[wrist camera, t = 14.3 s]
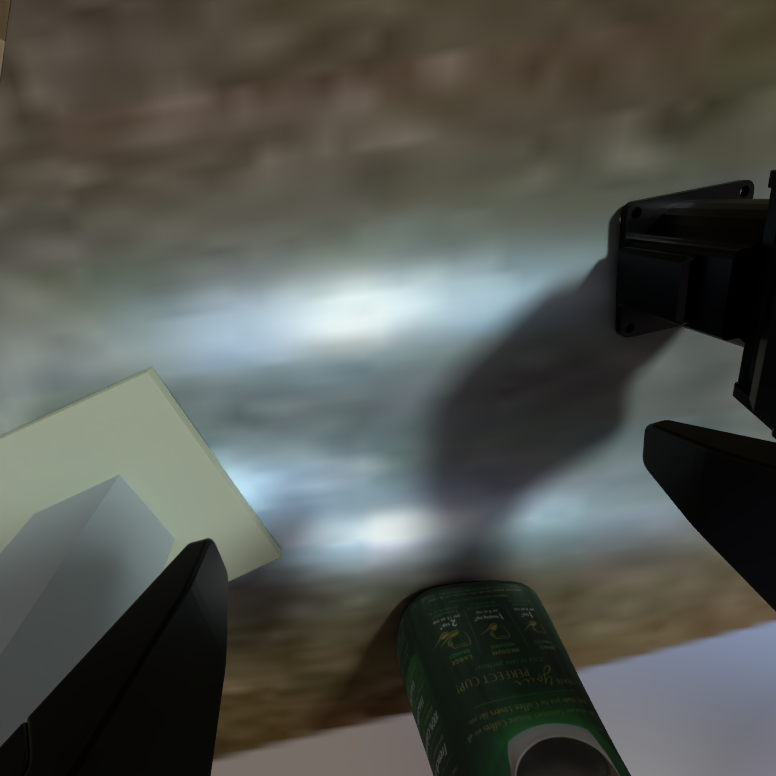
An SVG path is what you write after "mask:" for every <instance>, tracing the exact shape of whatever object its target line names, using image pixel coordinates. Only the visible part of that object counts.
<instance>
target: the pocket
mask: <svg viewBox="0 0 776 776" xmlns="http://www.w3.org/2000/svg"><path fill="white" fill-rule="evenodd" d="M10 1H11V0H0V76H1V69H2V61H3V54H4V46H5V39H6V31H7V23H8V16H9V8H10Z"/></svg>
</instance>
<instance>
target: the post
mask: <svg viewBox="0 0 776 776" xmlns="http://www.w3.org/2000/svg"><path fill="white" fill-rule="evenodd" d="M174 540H175V538H174V537H173V536H172V535H171V534H170V532H169V531H168V530H167V529H166V528H165V527H164V525H163V524H162V523H161V522H160V521H159V520H158V518H157V517H156V516H155V515H154V514H153V513H152V511H151V510H150V509H149V508H148V507H147V506H146V504H145V503H144V502H143V501H142V500H141V499H140V497H139V496H138V495H137V494H136V493H135V492H134V490H133V489H132V488H131V487H130V486H129V485H128V483H127V482H126V481H125V480H124V479H123V478H122V476H121V475H120V474H119V475H117V476H115V477H113V478H111V479H108V480H106V481H104V482H102V483H100V484H98V485H95V486H93V487H91V488H89V489H87V490H85V491H83V492H80V493H78V494H76V495H74V496H72V497H70V498H68V499H65V500H63V501H61V502H59V503H57V504H55V505H52V506H50V507H48V508H46V509H44V510H42V511H40V512H37V513H35V514H34V515H33V516H32V517H31V518H30V519H29V521H28V522H27V523H26V524H25V525H24V526H23V528H22V529H21V530H20V531H19V532H18V533H17V535H16V536H15V537H14V538H13V539H12V541H11V542H10V543H9V544H8V545H7V546H6V548H5V549H4V550H3V551H2V552H1V554H0V746H1V745H2V744H3V743H4V742H5V741H6V740H7V739H8V738H9V737H10V736H11V735H12V733H13V732H14V731H15V730H16V729H17V728H18V727H19V726H20V725H21V724H22V723H24V722H27V718H28V716H29V715H30V714H31V713H32V712H33V711H34V710H35V709H36V708H37V707H38V705H39V704H40V703H41V702H42V701H43V700H44V699H45V698H46V697H47V696H48V695H49V694H50V693H51V691H52V690H53V689H54V688H55V687H56V686H57V685H58V684H59V683H60V682H61V681H62V680H63V678H64V677H65V676H66V675H67V674H68V673H69V672H70V671H71V670H72V669H73V668H74V667H75V666H76V664H77V663H78V662H79V661H80V660H81V659H82V658H83V657H84V656H85V655H86V654H87V653H88V651H89V650H90V649H91V648H92V647H93V646H94V645H95V644H96V643H97V642H98V641H99V640H100V638H101V637H102V636H103V635H104V634H105V633H106V632H107V631H108V630H109V629H110V628H111V627H112V626H113V624H114V623H115V622H116V621H117V620H118V619H119V618H120V617H121V616H122V615H123V614H124V613H125V611H126V610H127V609H128V608H129V607H130V606H131V605H132V604H133V603H134V602H135V601H136V600H137V598H138V597H139V596H140V595H141V594H142V593H143V592H144V591H145V590H146V589H147V588H148V587H149V585H150V584H151V583H152V582H153V581H154V580H155V579H156V578H157V577H158V576H159V575H160V574H161V572H162V571H163V569H164V567H165V564H166V561H167V559H168V556H169V553H170V550H171V548H172V545H173V542H174Z"/></svg>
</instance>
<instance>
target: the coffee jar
mask: <svg viewBox="0 0 776 776" xmlns="http://www.w3.org/2000/svg"><path fill="white" fill-rule="evenodd" d="M396 655H397V661H398V665H399V669H400V673H401V677H402V680H403V684H404V687H405V691H406V694H407V697H408V700H409V703H410V706H411V709H412V712H413V715H414V718H415V721H416V724H417V727H418V730H419V733H420V736H421V739H422V742H423V745H424V748H425V751H426V754H427V757H428V760H429V763H430V766H431V769H432V772H433V775H434V776H631V775H630V773H629V772H628V770H627V768H626V766H625V764H624V762H623V761H622V759H621V757H620V755H619V754H618V752H617V750H616V748H615V746H614V744H613V742H612V740H611V739H610V737H609V735H608V733H607V731H606V729H605V727H604V725H603V723H602V721H601V719H600V718H599V716H598V714H597V712H596V710H595V708H594V706H593V704H592V702H591V700H590V698H589V696H588V694H587V692H586V690H585V688H584V687H583V684H582V682H581V680H580V678H579V676H578V674H577V672H576V670H575V668H574V666H573V664H572V662H571V660H570V658H569V656H568V653H567V651H566V649H565V647H564V645H563V643H562V641H561V639H560V637H559V635H558V633H557V631H556V629H555V627H554V625H553V623H552V621H551V619H550V617H549V615H548V614H547V612H546V610H545V608H544V606H543V605H542V603H541V601H540V599H539V598H538V596H537V594H536V593H535V592H534V591H533V590H532V589H530V588H529V587H527V586H526V585H524V584H521V583H518V582H512V581H479V582H468V583H459V584H452V585H446V586H440V587H436V588H432V589H429V590H427V591H425V592H423V593H421V594H420V595H419V596H418V597H417V598H416V599H415V600H414V601H412V602H411V604H410V605H409V606H408V607H407V608H406V610H405V612H404V614H403V616H402V618H401V621H400V624H399V629H398V634H397V641H396Z"/></svg>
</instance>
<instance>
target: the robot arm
mask: <svg viewBox="0 0 776 776" xmlns="http://www.w3.org/2000/svg"><path fill="white" fill-rule="evenodd" d="M768 187H769V188H771V193H770V199H753V194H754V184H753V182H752V181H750V180H738V181H733V182H728V183H723V184H718V185H713V186H707V187H702V188H697V189H692V190H687V191H682V192H677V193H671V194H666V195H661V196H656V197H651V198H646V199H641V200H635V201H631V202H629V203H627V204H626V205H625V206H624V207H623V209H622V212H621V223H620V244H619V253H618V268H617V289H616V303H617V306H616V327H615V328H616V332H617V334H619V335H621V336H623V337H633V336H637V335H642V334H646V333H650V332H655V331H659V330H664V329H668V328H673V327H677V326H682V327H685V328H688V329H691V330H694V331H697V332H700V333H703V334H706V335H709V336H712V337H715V338H718V339H721V340H724V341H727V342H730V343H733V344H736V345H739V346H742V347H744V350H743V355H742V361H741V367H740V373H739V379H738V382H736V383H735V384H734V390H733V396H734V397H735V398H736V399H737V400H738V401H739V402H740V403H742V404H743V405H744V406H745V407H746V408H747V409H748V410H750V411H751V412H752V413H753V414H754V415H755V416H756V417H757V418H759V419H760V420H761V421H762V422H763V423H764V424H765V425H766V426H768V427H769V428H770V429H771V430H772V436H773V437H774V438H775V439H776V170H771V172H770V178H769V184H768ZM741 189H742V192H741V194H740V190H741ZM634 208H635V209H636V213H635V216H634V217H632V211H633V209H634ZM627 324H629V327H628V328H627V330H625V327H626V325H627ZM643 462H644V465H645V467H646V469H647V470H648V471H649V473H650V474H651V475H652V476H653V478H654V479H655V480H656V481H657V483H658V484H659V485H660V486H661V487H662V489H663V490H664V491H665V492H666V494H667V495H668V496H669V497H670V499H671V500H672V501H673V502H674V504H675V505H676V506H677V507H678V509H679V510H680V511H681V512H682V513H683V515H684V516H685V517H686V518H687V520H688V521H689V522H690V523H691V524H692V525H693V527H694V528H695V529H696V530H697V531H698V532H699V533H700V534H701V535H702V536H703V537H704V538H705V539H706V540H707V541H708V542H709V544H710V545H711V546H712V547H713V548H714V549H715V550H716V551H717V552H718V553H719V554H720V555H721V556H722V557H723V558H724V559H725V560H726V561H727V562H728V563H729V564H730V565H731V566H732V567H733V568H734V569H735V570H736V571H737V572H738V573H739V574H740V575H741V576H742V577H743V578H744V579H745V580H746V581H747V582H748V584H749V585H750V586H751V587H752V588H753V589H754V590H755V591H756V592H757V593H758V594H759V595H760V596H761V597H762V598H763V599H764V600H765V601H766V602H767V603H768V604H769V605H770V606H771V607H772V608H773V609H774V610H775V611H776V443H775V442H771V441H766V440H761V439H756V438H752V437H747V436H742V435H737V434H732V433H728V432H723V431H718V430H713V429H708V428H704V427H699V426H694V425H689V424H684V423H680V422H675V421H670V420H664V421H660V422H656V423H652V424H649V425H648V426H647V427H646V429H645V434H644V447H643ZM227 615H228V574H227V570H226V567H225V565H224V562H223V560H222V558H221V555H220V553H219V551H218V548H217V546H216V544H215V542H214V541H213V540H212V539H210V538H206V539H202V540H198V541H195V542H191V543H189V544H188V545H187V546H186V547H185V548H184V549H183V550H182V551H181V552H180V553H179V554H178V555H177V556H176V557H175V558H174V560H173V561H172V562H171V563H170V564H169V565H168V566H167V567H166V568H165V569H164V570H163V571H162V572H161V574H160V575H159V576H158V577H157V578H156V579H155V580H154V581H153V582H152V583H151V584H150V585H149V587H148V588H147V589H146V590H145V591H144V592H143V593H142V594H141V595H140V596H139V597H138V598H137V600H136V601H135V602H134V603H133V604H132V605H131V606H130V607H129V608H128V609H127V610H126V611H125V613H124V614H123V615H122V616H121V617H120V618H119V619H118V620H117V621H116V622H115V623H114V624H113V626H112V627H111V628H110V629H109V630H108V631H107V632H106V633H105V634H104V635H103V636H102V637H101V638H100V640H99V641H98V642H97V643H96V644H95V645H94V646H93V647H92V648H91V649H90V650H89V651H88V653H87V654H86V655H85V656H84V657H83V658H82V659H81V660H80V661H79V662H78V663H77V664H76V666H75V667H74V668H73V669H72V670H71V671H70V672H69V673H68V674H67V675H66V676H65V677H64V678H63V680H62V681H61V682H60V683H59V684H58V685H57V686H56V687H55V688H54V689H53V690H52V691H51V693H50V694H49V695H48V696H47V697H46V698H45V699H44V700H43V701H42V702H41V703H40V704H39V705H38V707H37V708H36V709H35V710H34V711H33V712H32V713H31V714H30V715H29V716H28V718H27V722H24V723H22V724H21V725H20V726H19V727H18V728H17V729H16V730H15V731H14V732H13V733H12V735H11V736H10V737H9V738H8V739H7V740H6V741H5V742H4V743H3V744H2V745H1V746H0V776H211V769H212V761H213V754H214V747H215V740H216V732H217V725H218V718H219V711H220V703H221V696H222V689H223V682H224V674H225V665H226V651H227Z"/></svg>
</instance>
